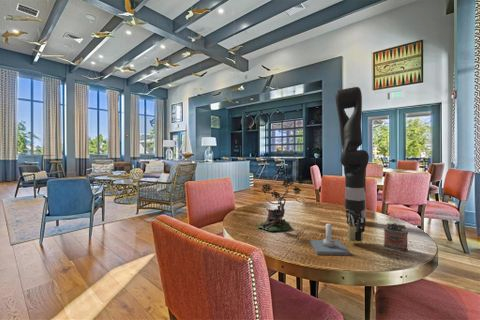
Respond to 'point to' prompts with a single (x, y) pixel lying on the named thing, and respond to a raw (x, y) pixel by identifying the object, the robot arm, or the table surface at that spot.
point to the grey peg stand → (329, 245)
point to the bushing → (353, 233)
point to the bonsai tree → (276, 216)
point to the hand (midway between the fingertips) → (355, 237)
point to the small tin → (395, 237)
